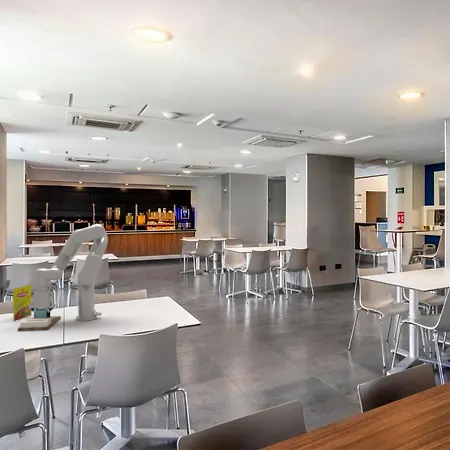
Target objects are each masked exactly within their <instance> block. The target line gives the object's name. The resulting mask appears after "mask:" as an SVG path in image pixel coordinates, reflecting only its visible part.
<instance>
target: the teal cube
mask: <svg viewBox="0 0 450 450" xmlns="http://www.w3.org/2000/svg"><path fill="white" fill-rule="evenodd" d="M35 318H47V309H46V308H38V309H37V310H36V311H35Z"/></svg>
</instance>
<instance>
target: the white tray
mask: <svg viewBox="0 0 450 450" xmlns="http://www.w3.org/2000/svg"><path fill="white" fill-rule="evenodd" d="M49 324H51V318H33V317H32V318H31V317H30V318H27V317H26V318H25V319H23V320H22V321H20V325H19V327H20V328H31V327H47V326H48V325H49Z"/></svg>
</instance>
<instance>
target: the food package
mask: <svg viewBox="0 0 450 450" xmlns="http://www.w3.org/2000/svg"><path fill="white" fill-rule="evenodd" d="M12 291H13V293H12V294H13V295H12V296H13V297H12V299H13V300H12V302H13V322H16V320H17V321H20V320H22V319H24V318H25V319H26V318H27V317H30V316H32V310H31V309H30V308H29V307H28V306H29V305H30V304H31V303H32V284H27V285H24V286H20V287H16V288H13V290H12Z"/></svg>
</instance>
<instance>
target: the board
mask: <svg viewBox="0 0 450 450" xmlns="http://www.w3.org/2000/svg"><path fill="white" fill-rule="evenodd" d="M32 318H34V316H33V317H32ZM50 318H51V324H49V325H48V326H47V327H31V328H20V326H19V327H18V328H17V332H26V331H28V332H31V331H32V332H34V331H49V330H50V329H51V328H52V327H53V326H54V325H56V324H57V323H58V322H59V321H60V320H61V319H62V316H61V315H59V316H58V315H55V316H54V315H53V316H51V315H50Z"/></svg>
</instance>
